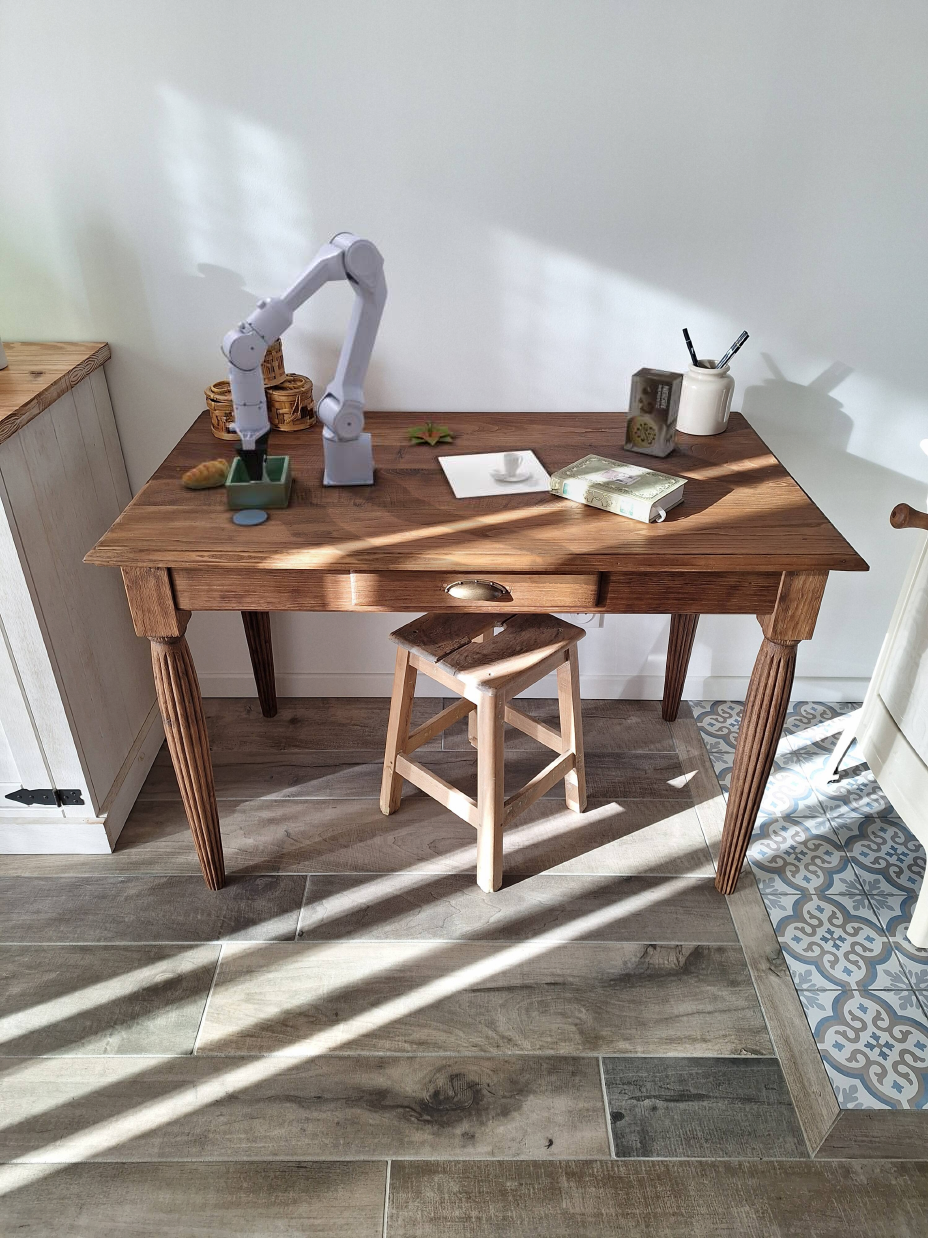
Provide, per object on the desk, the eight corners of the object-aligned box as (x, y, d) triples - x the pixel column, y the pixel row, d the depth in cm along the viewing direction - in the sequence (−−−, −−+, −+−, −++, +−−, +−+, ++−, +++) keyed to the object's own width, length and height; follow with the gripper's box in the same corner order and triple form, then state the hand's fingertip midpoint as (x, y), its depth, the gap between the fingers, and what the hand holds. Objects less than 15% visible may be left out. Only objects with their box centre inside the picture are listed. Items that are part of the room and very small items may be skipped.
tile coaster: (268, 510, 155) (268, 508, 155) (265, 525, 150) (265, 523, 150) (235, 511, 154) (235, 509, 154) (230, 526, 149) (230, 524, 149)
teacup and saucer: (491, 485, 165) (492, 465, 162) (482, 468, 171) (483, 449, 169) (535, 481, 166) (536, 462, 164) (524, 465, 173) (525, 446, 170)
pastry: (191, 494, 160) (187, 475, 158) (176, 483, 165) (173, 464, 163) (237, 481, 165) (234, 463, 163) (221, 471, 170) (218, 453, 167)
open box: (292, 479, 166) (289, 455, 164) (286, 507, 156) (283, 483, 153) (238, 480, 166) (234, 457, 163) (229, 509, 155) (225, 485, 152)
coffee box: (674, 448, 181) (685, 373, 172) (663, 458, 176) (674, 381, 168) (634, 439, 185) (643, 365, 176) (622, 449, 180) (631, 373, 172)
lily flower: (453, 426, 191) (453, 406, 188) (460, 446, 181) (461, 426, 179) (400, 428, 190) (399, 409, 187) (404, 449, 180) (404, 428, 177)
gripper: (231, 387, 156) (241, 457, 164) (220, 415, 144) (231, 488, 152) (270, 387, 157) (278, 456, 164) (262, 414, 145) (271, 487, 152)
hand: (258, 471), depth 158 cm, fingers open, 7 cm apart
